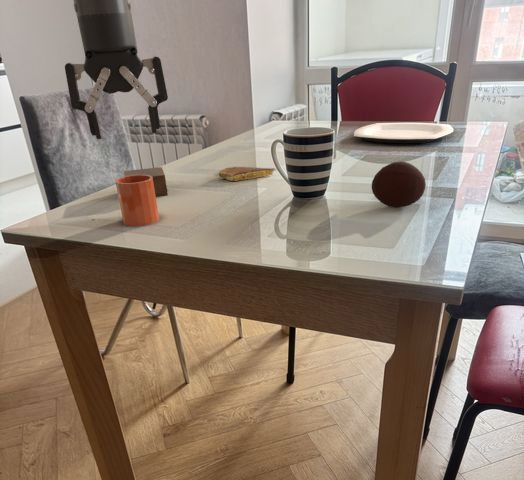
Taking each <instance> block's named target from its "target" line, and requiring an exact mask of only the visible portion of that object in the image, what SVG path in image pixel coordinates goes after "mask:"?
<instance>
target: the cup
mask: <svg viewBox="0 0 524 480" xmlns="http://www.w3.org/2000/svg"><path fill="white" fill-rule="evenodd" d="M115 187H116V192H117V197H118V202H119V207H120V212H121V218H122V222H123V224H124V225H125V226H130V227H140V226H141V227H142V226H148V225H151V224H152V225H153V224H154V223H157V222H158V221H159V220H160V215H159V208H158V203H157V196H155V189H154V183H153V177H152V176H150V175H130V176H125V177H124V176H122V177H119V178H117V179H115Z"/></svg>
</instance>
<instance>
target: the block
mask: <svg viewBox="0 0 524 480" xmlns="http://www.w3.org/2000/svg"><path fill="white" fill-rule="evenodd" d="M130 175H150V176H152V177H153V183H154V189H155V196H156V197H162V196H168V195H169V194H168V185H167V181H166V174H165V172H164V169H163V167H162V166H159V167H150V168H149V167H148V168H138V169H129V170H124V171H123V177H125V176H130Z"/></svg>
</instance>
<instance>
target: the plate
mask: <svg viewBox="0 0 524 480" xmlns="http://www.w3.org/2000/svg"><path fill="white" fill-rule="evenodd" d="M453 132H454V128H453V127H452V126H451V125H450V124H445V123H431V122H430V123H429V122H376V123H372V124H368V125H364V126H361V127H359V128H357V129H356V130H354V132H353V137H354V138H360V139H363V140H365V141H366V142H371V141H372V142H371V143H382V142H383V143H382V144H426V143H430V142H432V141H435V140H438V139H441V138H444V137H447V136H449V135H451V134H452V133H453Z"/></svg>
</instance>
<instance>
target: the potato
mask: <svg viewBox="0 0 524 480" xmlns="http://www.w3.org/2000/svg"><path fill="white" fill-rule="evenodd" d="M426 186H427V183H426V178H425V176H424V175H423V173H422V172H421V171H420V170H419V169H418V168H417V167H416V166H415V165H413V164H412V163H409V162H407V161H393V162H390V163H389V164H387V165H384V166H383V167H381V168H380V169H379V170H378V171H377V173H375V175H374V177H373V179H372V181H371V192H372V194H373V195H374V197H375V198H376V200H377V201H379V203H381V204H383V205H385V206H387V207H389V208H395V209H399V208H405V207H409V206H411V205H413V204H415V203H417V202H419V200H420V199H421V198H422V196H423V195H424V193H425V190H426Z"/></svg>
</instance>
